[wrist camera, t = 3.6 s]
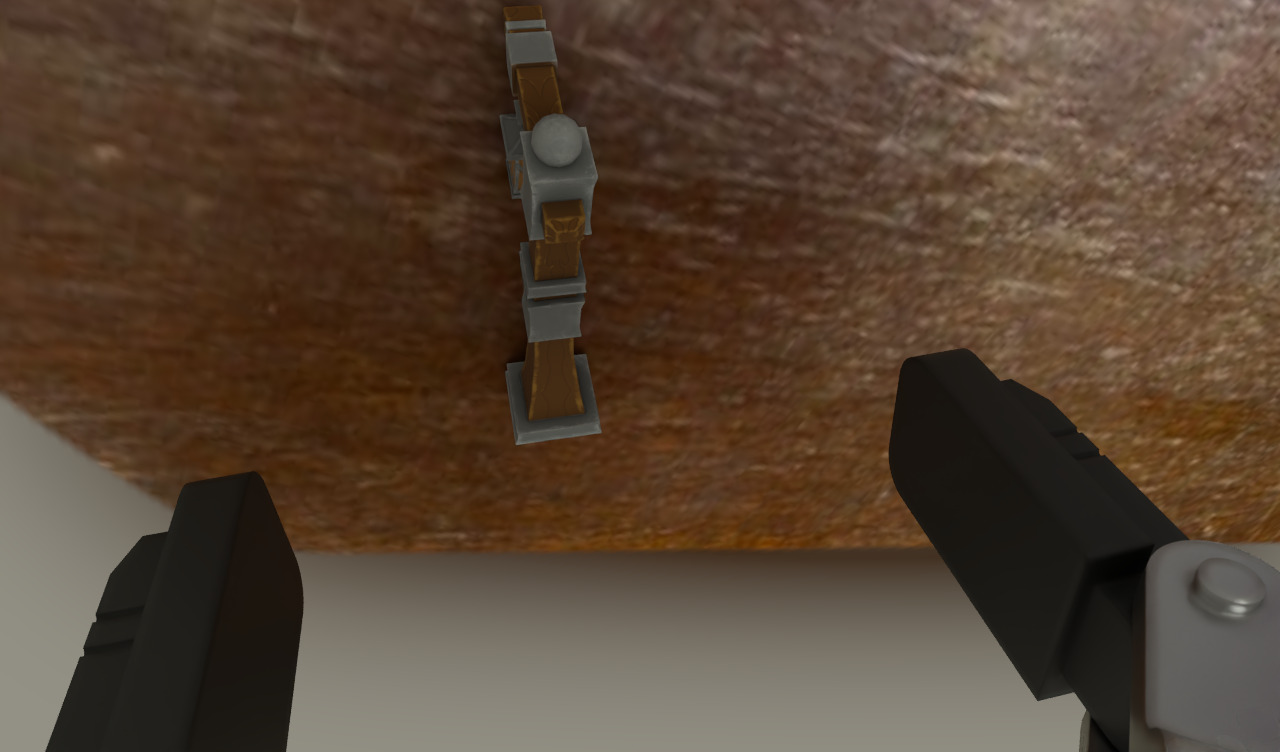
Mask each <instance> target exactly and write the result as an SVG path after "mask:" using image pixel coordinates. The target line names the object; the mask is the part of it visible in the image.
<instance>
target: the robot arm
mask: <svg viewBox="0 0 1280 752" xmlns="http://www.w3.org/2000/svg"><path fill="white" fill-rule="evenodd" d="M1076 428H1077V427H1076V426H1075V425H1074V424H1073V423H1072V422H1071V421H1070V420H1069V419H1068V418H1067V417H1066V416H1065V415H1064V414H1063V413H1062V412H1061V411H1060V410H1059V409H1058V408H1057V407H1056V406H1055V405H1054V404H1053V403H1052V402H1051V401H1050V400H1049V399H1047V398H1045V397H1043V396H1041V395H1039V394H1038V393H1036V392H1034V391H1032V390H1030V389H1028V388H1027V387H1025V386H1023V385H1021V384H1019V383H1017V382H1016V381H1014V380H1012V379H1009V380H1004V381H1000V380H999V379H998V378H997V377H996V376H995V375H994V374H993V373H992V372H991V371H990V370H989V369H988V368H987V367H986V365H985V364H984V363H983V362H982V361H981V360H980V359H979V358H978V357H977V356H976V355H975V354H974V353H973V352H972V351H970V350H968V349H965V348H961V349H955V350H949V351H944V352H938V353H932V354H927V355H921V356H915V357H910V358H908V359H906V360H905V361H904V363H903V365H902V367H901V370H900V375H899V382H898V389H897V396H896V403H895V409H894V416H893V423H892V430H891V437H890V443H889V464H890V470H891V474H892V478H893V481H894V484H895V486H896V488H897V491H898V493H899V494H900V496H901V498H902V499H903V501H904V502H905V504H906V505H907V507H908V508H909V510H910V511H911V513H912V514H913V516H914V517H915V519H916V520H917V522H918V523H919V525H920V526H921V527H922V529H923V530H924V532H925V533H926V535H927V536H928V538H929V539H930V541H931V542H932V544H933V545H934V547H935V548H936V550H937V551H938V553H939V554H940V556H941V557H942V559H943V560H944V562H945V563H946V565H947V566H948V568H949V569H950V571H951V572H952V574H953V575H954V577H955V578H956V580H957V581H958V583H959V584H960V586H961V587H962V589H963V590H964V592H965V593H966V595H967V596H968V597H969V599H970V601H971V602H972V604H973V605H974V607H975V608H976V610H977V611H978V613H979V614H980V616H981V617H982V619H983V620H984V622H985V623H986V625H987V626H988V627H989V629H990V631H991V632H992V634H993V635H994V637H995V638H996V639H997V641H998V643H999V644H1000V646H1001V647H1002V648H1003V650H1004V652H1005V653H1006V655H1007V656H1008V658H1009V659H1010V661H1011V662H1012V664H1013V665H1014V666H1015V668H1016V670H1017V671H1018V673H1019V674H1020V676H1021V677H1022V679H1023V680H1024V682H1025V683H1026V684H1027V686H1028V688H1029V689H1030V690H1031V692H1032V693H1033V695H1034V696H1035V698H1036V699H1037V701H1040V700H1044V699H1048V698H1052V697H1056V696H1061V695H1065V694H1069V693H1072V692H1075V694H1076V695H1077V697H1078V698H1079V699H1080V701H1081V702H1082V703H1083V705H1084V706H1085V708H1086V709H1087V710H1086V712H1085V715H1084V717H1083V720H1082V725H1081V731H1080V746H1079V747H1080V748H1079V752H1280V572H1279V571H1278V570H1276V569H1275V568H1274V567H1272V566H1271V565H1269V564H1268V563H1266V562H1264V561H1263V560H1261V559H1259V558H1257V557H1255V556H1253V555H1251V554H1250V553H1247V552H1245V551H1242V550H1240V549H1237V548H1235V547H1231V546H1228V545H1225V544H1221V543H1216V542H1211V541H1202V540H1190V539H1188V538H1187V537H1186V536H1185V535H1184V534H1183V533H1182V532H1181V531H1180V530H1179V529H1178V528H1177V527H1176V526H1175V525H1174V524H1173V523H1172V522H1171V521H1170V520H1169V519H1168V518H1167V517H1166V516H1165V515H1164V514H1163V513H1162V512H1161V511H1160V510H1159V509H1158V508H1157V507H1156V506H1155V505H1154V504H1153V503H1152V502H1151V501H1150V500H1149V499H1148V498H1147V497H1146V496H1145V495H1144V494H1143V493H1142V492H1141V491H1140V490H1139V489H1138V488H1137V487H1136V486H1135V485H1134V484H1133V483H1132V482H1131V481H1130V480H1129V479H1128V478H1127V477H1126V476H1125V475H1124V474H1123V473H1122V472H1121V471H1120V470H1119V469H1118V468H1117V467H1116V466H1115V465H1114V464H1113V463H1112V462H1111V461H1110V460H1109V459H1108V458H1107V457H1106V456H1105V455H1103V456H1101V455H1100V454H1099V449H1098V448H1097V447H1096V446H1095V445H1094V444H1093V443H1092V442H1091V441H1090V440H1089V439H1088V438H1087V437H1086V436H1085V435H1084V434H1083V433H1078V432H1077V429H1076ZM303 603H304V602H303V587H302V580H301V574H300V570H299V566H298V563H297V560H296V557H295V555H294V552H293V550H292V548H291V545H290V543H289V540H288V538H287V535H286V533H285V531H284V528H283V526H282V523H281V521H280V519H279V516H278V514H277V511H276V509H275V506H274V504H273V502H272V499H271V497H270V494H269V492H268V490H267V487H266V485H265V483H264V481H263V479H262V477H261V476H260V475H259V474H258V473H257V472H255V471H252V472H246V473H241V474H235V475H229V476H224V477H218V478H212V479H207V480H201V481H195V482H190V483H187V484H185V485H184V487H183V488H182V490H181V492H180V495H179V498H178V501H177V505H176V508H175V511H174V514H173V517H172V521H171V524H170V527H169V530H168V532H163V533H158V534H152V535H146V536H142V538H141V539H140V540H139V541H138V542H137V543H136V545H135V546H134V547H133V548H132V549H131V550H130V552H129V553H128V554H127V555H126V556H125V558H124V559H123V560H122V561H121V562H120V564H119V565H118V566H117V567H116V568H115V569H114V571H113V572H112V573H111V574H110V577H109V579H108V582H107V585H106V587H105V590H104V593H103V596H102V598H101V601H100V604H99V607H98V609H97V612H96V618H97V621H96V622H94V623H92V626H91V628H90V631H89V634H88V637H87V640H86V642H85V645H84V648H83V649H84V656H83V657H80V658H79V661H78V664H77V667H76V669H75V672H74V675H73V678H72V680H71V683H70V686H69V689H68V691H67V694H66V697H65V699H64V702H63V705H62V708H61V710H60V713H59V716H58V719H57V722H56V724H55V727H54V730H53V732H52V735H51V738H50V740H49V743H48V746H47V749H46V751H45V752H286V747H287V739H288V731H289V723H290V714H291V707H292V698H293V691H294V682H295V674H296V666H297V658H298V649H299V642H300V634H301V626H302V618H303Z"/></svg>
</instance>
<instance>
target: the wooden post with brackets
mask: <svg viewBox="0 0 1280 752" xmlns="http://www.w3.org/2000/svg"><path fill="white" fill-rule="evenodd" d="M503 15H504V33H505V38H506V54H507V68H508V74H509V79H510V85H511V90H512V95H513V96H518V100H514V105H515V110H516V114H503V115H500V123H501V128H502V134H503V140H504V146H505V151H506V157H507V159H506V166H507V172H508V177H509V183H510V189H511V195H512V199H518V198H521V199H522V204H523V209H524V214H525V219H526V225H527V230H528V235H529V242H521V243H520V246H521V251H519V255H520V261H521V262H520V267H521V273H522V278H523V284H524V294H523V297H522V306H523V312H524V318H525V324H526V330H527V336H528V342H527V350H526V357H525V361H524V362H516V363H508V364H507V371H505V375H506V382H507V389H508V396H509V402H510V409H511V416H512V423H513V429H514V436H515V443H516V445H519V444H526V443H533V442H540V441H547V440H554V439H561V438H568V437H576V436H583V435H590V434H597V433H602V432H601V427H600V420H599V415H598V410H597V405H596V400H595V395H594V390H593V385H592V381H591V376H590V371H589V366H588V361H587V356H586V354H581V355H574V337H581V332H580V316H581V308H582V306H583V305H584V303H585V298H584V293H585V292H586V288H585V284H586V283H587V282H586V278H585V273H584V268H583V264H582V259H581V254H580V240H584V237H585V235H590V234H592V232H591V225H590V217H591V208H592V198H593V189H594V186H595V183H596V181H597V179H598V175H597V171H596V167H595V163H594V158H593V154H592V150H591V146H590V142H589V138H588V134H587V130H586V127H578V125H577V124H576V122H575V121H574V120H572V119H571V118H569V117H567V116H566V115H564V114H563V110H562V105H561V101H560V96H559V91H558V87H557V57H556V53H555V48H554V44H553V39H552V35H551V31H546V22H545V20H543V17H542V8H541V5H534V6H515V7H503Z"/></svg>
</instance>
